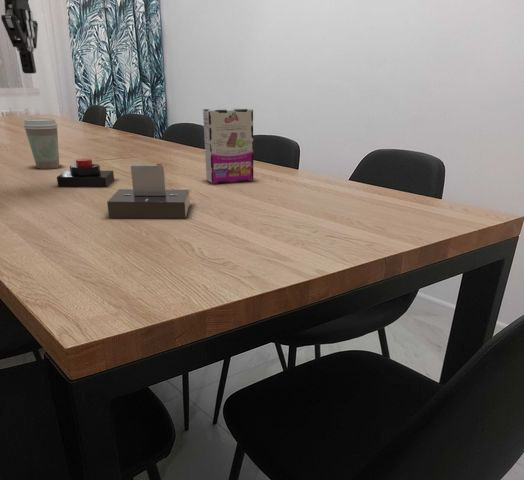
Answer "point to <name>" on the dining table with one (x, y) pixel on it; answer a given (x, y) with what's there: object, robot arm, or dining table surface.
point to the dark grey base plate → (149, 205)
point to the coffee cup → (43, 142)
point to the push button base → (85, 177)
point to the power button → (84, 162)
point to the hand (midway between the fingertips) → (29, 73)
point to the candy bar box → (228, 144)
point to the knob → (148, 179)
